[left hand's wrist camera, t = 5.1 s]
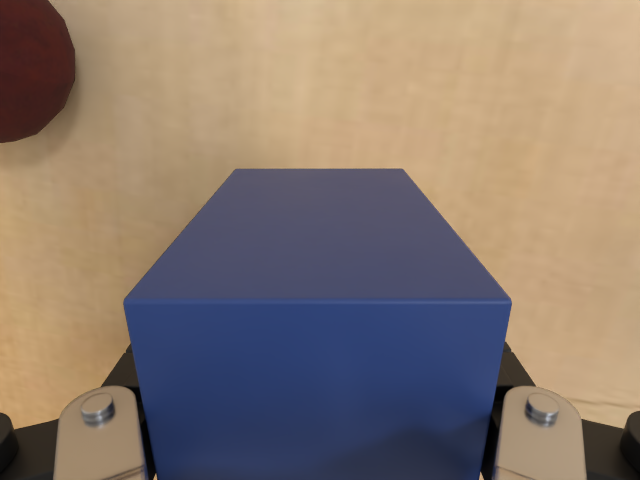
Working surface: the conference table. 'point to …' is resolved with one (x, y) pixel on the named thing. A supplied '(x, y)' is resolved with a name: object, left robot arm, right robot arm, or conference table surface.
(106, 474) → the left robot arm
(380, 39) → the conference table surface
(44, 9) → the potato
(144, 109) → the conference table surface
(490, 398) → the box
